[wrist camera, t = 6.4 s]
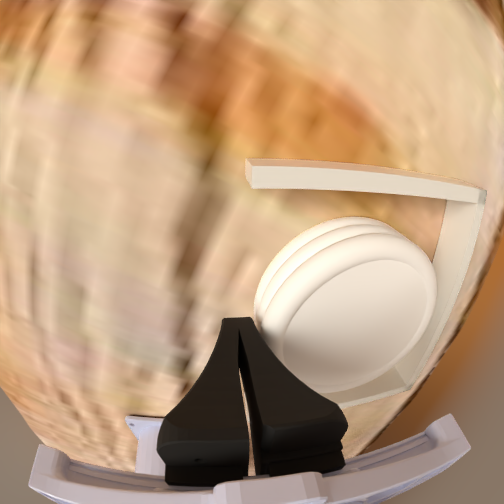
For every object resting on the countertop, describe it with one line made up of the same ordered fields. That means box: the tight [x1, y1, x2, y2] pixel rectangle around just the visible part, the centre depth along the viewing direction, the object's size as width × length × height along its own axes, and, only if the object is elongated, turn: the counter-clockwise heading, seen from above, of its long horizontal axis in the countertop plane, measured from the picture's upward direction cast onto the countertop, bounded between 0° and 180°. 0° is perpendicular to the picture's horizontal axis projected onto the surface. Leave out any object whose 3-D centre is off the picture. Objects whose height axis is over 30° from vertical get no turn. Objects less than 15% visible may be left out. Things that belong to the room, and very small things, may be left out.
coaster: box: [254, 216, 437, 393], centre depth 14 cm, size 10×10×4 cm
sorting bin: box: [244, 158, 487, 422], centre depth 14 cm, size 16×13×2 cm
